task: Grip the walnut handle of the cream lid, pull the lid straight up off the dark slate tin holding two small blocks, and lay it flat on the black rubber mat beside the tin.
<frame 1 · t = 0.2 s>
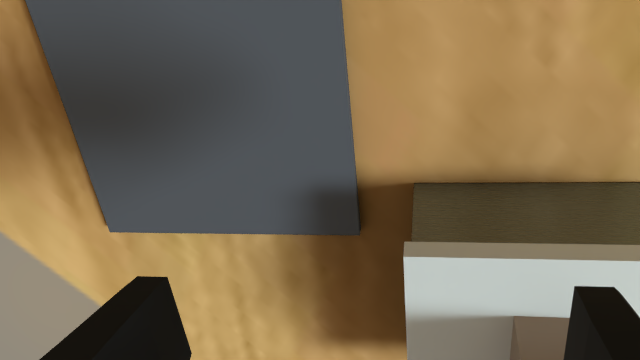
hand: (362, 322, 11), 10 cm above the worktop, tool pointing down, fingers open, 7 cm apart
tin: (525, 273, 22), on the worktop
mat: (206, 110, 21), on the worktop
lid: (536, 332, 20), point 3 cm above the worktop, touching tin
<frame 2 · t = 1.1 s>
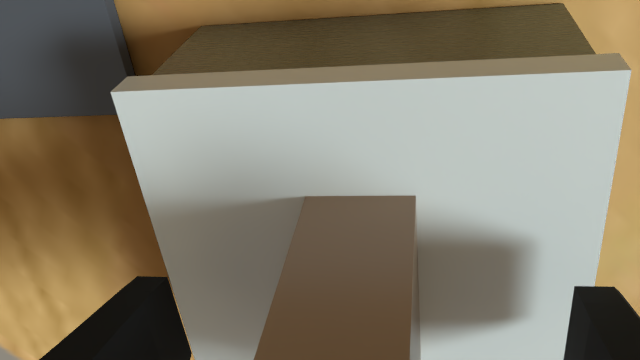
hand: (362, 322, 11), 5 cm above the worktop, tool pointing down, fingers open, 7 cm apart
tin: (381, 170, 15), on the worktop
lid: (372, 239, 13), point 3 cm above the worktop, touching tin
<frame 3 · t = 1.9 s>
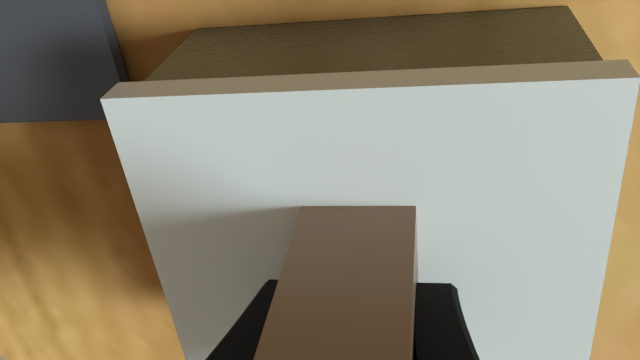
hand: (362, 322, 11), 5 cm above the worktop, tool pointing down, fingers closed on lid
tin: (381, 176, 15), on the worktop
lid: (371, 249, 13), point 3 cm above the worktop, touching gripper, tin
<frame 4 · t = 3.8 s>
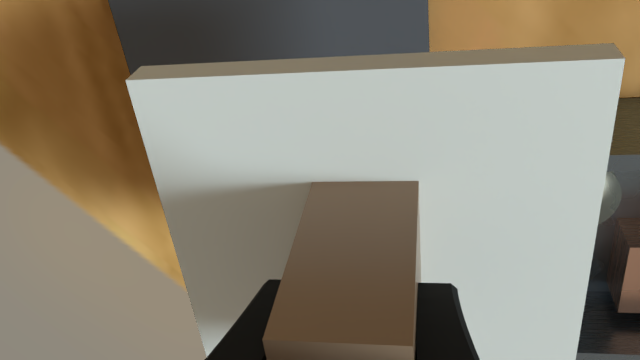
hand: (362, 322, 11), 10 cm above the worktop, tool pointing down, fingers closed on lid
tin: (610, 204, 21), on the worktop
mat: (269, 27, 19), on the worktop
lid: (376, 226, 13), point 8 cm above the worktop, touching gripper
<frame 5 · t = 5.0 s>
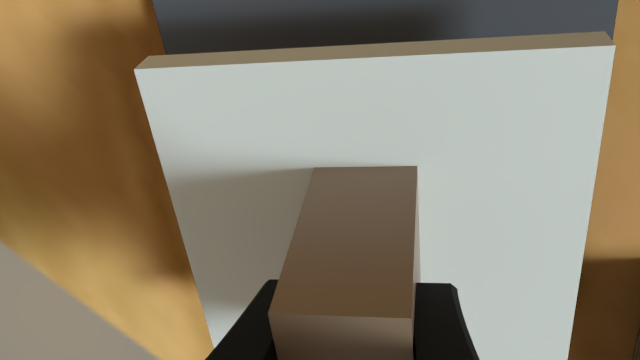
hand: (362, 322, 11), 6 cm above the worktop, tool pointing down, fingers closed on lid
mat: (383, 164, 15), on the worktop
lid: (376, 212, 14), point 2 cm above the worktop, touching gripper
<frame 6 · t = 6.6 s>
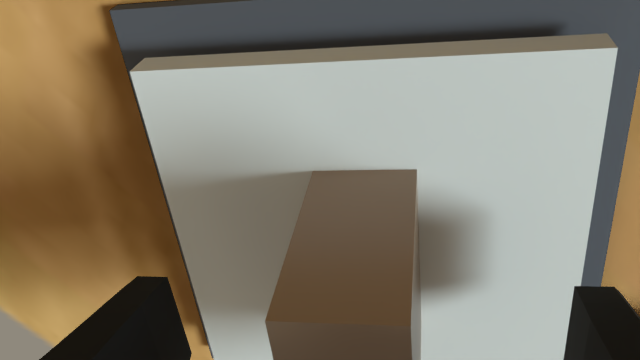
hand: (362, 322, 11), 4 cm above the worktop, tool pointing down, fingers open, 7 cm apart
mat: (377, 205, 14), on the worktop
lid: (375, 215, 14), resting on mat
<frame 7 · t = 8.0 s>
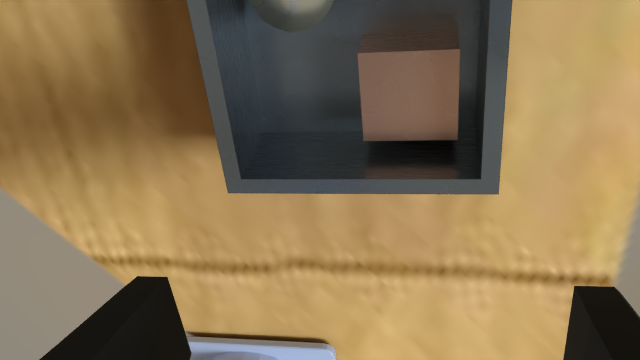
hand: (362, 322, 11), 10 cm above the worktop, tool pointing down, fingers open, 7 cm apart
tin: (360, 22, 18), on the worktop
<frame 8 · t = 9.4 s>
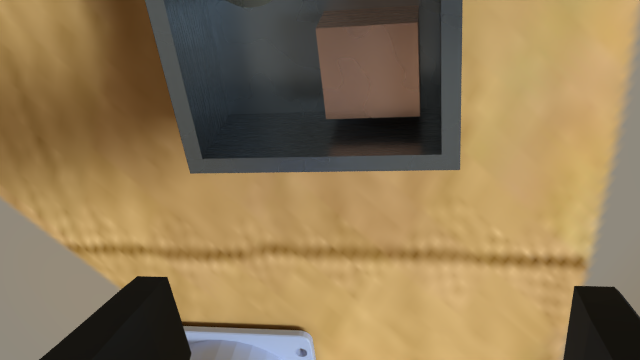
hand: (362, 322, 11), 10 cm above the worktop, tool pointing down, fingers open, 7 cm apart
tin: (322, 0, 18), on the worktop
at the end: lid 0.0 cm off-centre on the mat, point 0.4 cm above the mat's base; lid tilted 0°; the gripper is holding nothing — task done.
